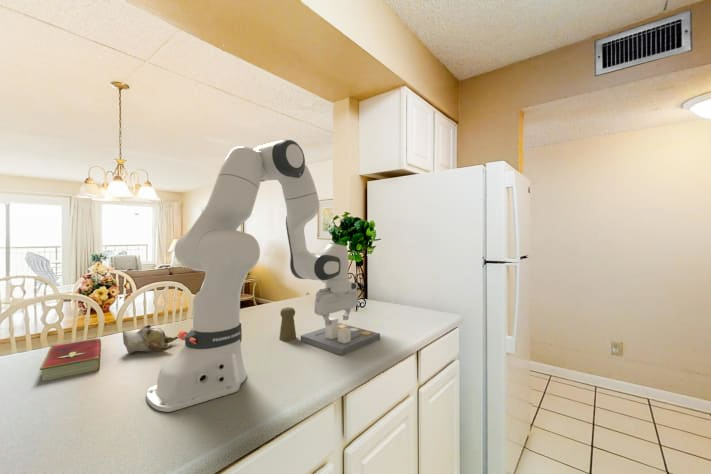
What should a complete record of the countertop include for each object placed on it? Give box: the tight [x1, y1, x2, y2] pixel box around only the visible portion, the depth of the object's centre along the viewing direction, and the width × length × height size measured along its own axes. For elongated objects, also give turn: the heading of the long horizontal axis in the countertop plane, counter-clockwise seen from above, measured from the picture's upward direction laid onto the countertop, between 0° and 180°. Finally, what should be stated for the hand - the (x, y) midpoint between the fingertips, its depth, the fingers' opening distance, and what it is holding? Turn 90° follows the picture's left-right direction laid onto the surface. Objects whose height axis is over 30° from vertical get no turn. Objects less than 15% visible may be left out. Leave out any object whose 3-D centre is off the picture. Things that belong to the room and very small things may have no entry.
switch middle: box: [324, 324, 338, 339], centre depth 109 cm, size 3×3×4 cm
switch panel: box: [300, 322, 381, 356], centre depth 112 cm, size 20×20×2 cm
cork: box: [279, 307, 297, 342], centre depth 114 cm, size 6×6×11 cm
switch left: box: [328, 317, 339, 326], centre depth 117 cm, size 3×3×4 cm
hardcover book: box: [39, 337, 102, 382], centre depth 93 cm, size 12×21×4 cm, turn 38°
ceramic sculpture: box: [122, 324, 179, 354], centre depth 102 cm, size 11×9×15 cm
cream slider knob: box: [338, 327, 351, 344], centre depth 105 cm, size 3×3×4 cm
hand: (337, 322), depth 119 cm, fingers open, 8 cm apart
